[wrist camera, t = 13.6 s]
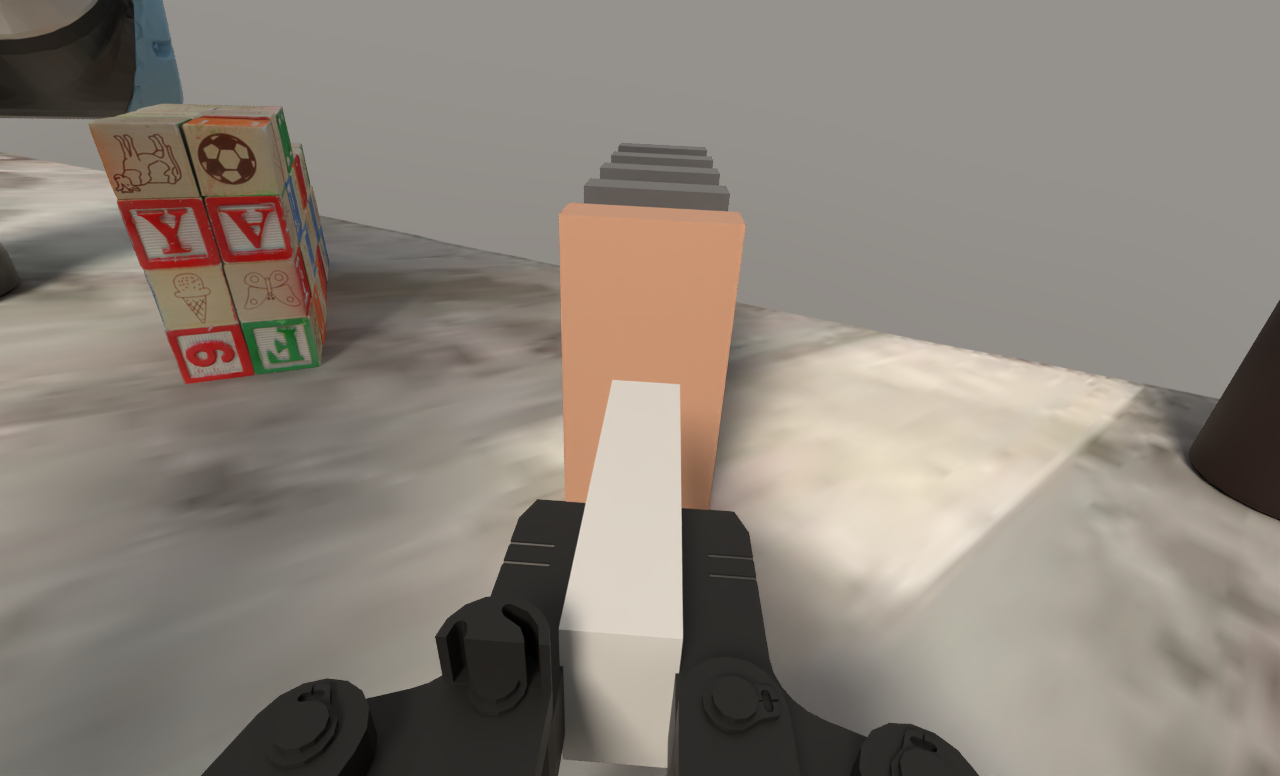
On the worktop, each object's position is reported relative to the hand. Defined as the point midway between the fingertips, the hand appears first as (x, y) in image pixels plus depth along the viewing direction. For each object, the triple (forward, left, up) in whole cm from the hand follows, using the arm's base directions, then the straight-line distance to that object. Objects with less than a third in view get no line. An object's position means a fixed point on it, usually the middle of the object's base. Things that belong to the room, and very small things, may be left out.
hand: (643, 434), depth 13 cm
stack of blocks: (-35, -1, -8) cm, 36 cm away
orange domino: (-4, +4, -7) cm, 9 cm away
